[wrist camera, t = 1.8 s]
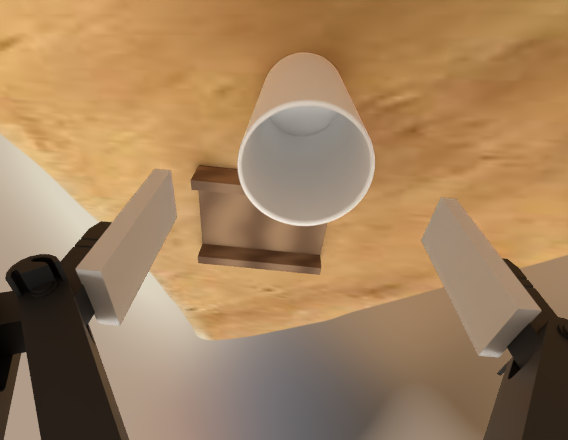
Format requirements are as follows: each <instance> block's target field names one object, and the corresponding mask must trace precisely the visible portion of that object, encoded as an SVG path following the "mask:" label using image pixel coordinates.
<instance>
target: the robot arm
mask: <svg viewBox="0 0 568 440" xmlns="http://www.w3.org/2000/svg"><path fill="white" fill-rule="evenodd" d="M176 218H177V212H176V205H175V197H174V190H173V182H172V175H171V170H163V169H154V170H153V172H152V173H151V174H150V175H149V177H148V178H147V179H146V180H145V182H144V183H143V184H142V185H141V187H140V188H139V189H138V190H137V192H136V193H135V194H134V196H133V197H132V198H131V199H130V201H129V202H128V203H127V204H126V206H125V207H124V208H123V209H122V211H121V212H120V213H119V214H118V216H117V217H116V218H115V219H114V221H113V222H102V221H101V222H99V223H98V224H96V225H94V226H93V227H91V228H90V229H89V230H88V231H87V232H86V233H85V234H84V235H83V237H82V238H81V240H79V241H78V242H77V243H76V244H75V247H73V248H72V249H71V250H70V251H69V253H68V254H67V255H66V256H65V257H64V258H63V260H62V261H61V262H60V261H59V260H58V259H57V257H55V256H52V255H49V254H48V255H47V254H40V255H36V256H30V257H28V258H25V259H23V260H21V261H19V262H17V263H16V264H14V265H13V266H12V267H11V268H10V269H9V270H8V272H7V273H6V281H7V282H8V284H9V285H10V287H11V288H12V290H13V291H10V292H3V293H0V440H4V435H5V430H6V425H7V420H8V415H9V410H10V405H11V400H12V395H13V390H14V386H15V381H16V376H17V371H18V366H19V361H20V356H21V353H23V352H26V353H27V358H28V364H29V370H30V376H31V382H32V388H33V394H34V400H35V405H36V411H37V418H38V423H39V429H40V435H41V440H129V438H128V435H127V433H126V430H125V427H124V424H123V421H122V418H121V415H120V412H119V409H118V407H117V404H116V401H115V398H114V395H113V392H112V389H111V386H110V384H109V381H108V378H107V375H106V372H105V369H104V367H103V364H102V361H101V358H100V355H99V352H98V349H97V346H96V343H95V341H94V338H93V335H92V332H91V329H90V327H89V325H88V323H89V321H90V320H91V318H92V316H93V315H94V314H95V317H96V319H97V321H98V323H99V324H110V325H121V323H122V321H123V319H124V317H125V315H126V313H127V312H128V309H129V308H130V306H131V304H132V302H133V300H134V298H135V296H136V294H137V292H138V291H139V289H140V287H141V285H142V283H143V281H144V279H145V277H146V275H147V273H148V272H149V270H150V268H151V266H152V264H153V262H154V260H155V258H156V256H157V254H158V252H159V251H160V249H161V247H162V245H163V243H164V241H165V239H166V237H167V235H168V233H169V232H170V230H171V228H172V226H173V224H174V222H175V220H176ZM421 241H422V243H423V245H424V247H425V249H426V251H427V253H428V255H429V257H430V259H431V261H432V263H433V265H434V267H435V269H436V271H437V273H438V275H439V277H440V279H441V281H442V284H443V286H444V288H445V290H446V292H447V294H448V296H449V297H450V300H451V301H452V303H453V306H454V308H455V310H456V312H457V314H458V316H459V318H460V320H461V322H462V324H463V326H464V328H465V330H466V332H467V334H468V336H469V338H470V340H471V342H472V344H473V346H474V348H475V350H476V352H477V354H478V356H490V357H499V356H500V355H501V354H502V353H503V352H504V351H505V350H506V349H507V348H508V350H509V351H510V353H511V355H512V356H513V357H512V358H511V359H510V361H508V362H507V363H506V364H505V365H504V366H503V367H502V369H501V370H500V371H499V372H498V373H497V374H498V375H502V374H503V373H504V372H505V373H504V376H503V379H502V383H501V386H500V389H499V392H498V395H497V398H496V402H495V405H494V408H493V411H492V414H491V417H490V421H489V424H488V427H487V430H486V433H485V436H484V439H483V440H568V320H567V319H565V318H560V317H558V316H557V315H556V314H555V313H554V312H553V310H552V309H551V308H550V307H549V305H548V304H547V303H546V302H545V300H544V299H543V298H542V297H541V295H540V294H539V293H538V291H537V290H536V289H535V288H533V285H532V284H531V283H530V282H529V280H527V278H526V276H525V275H524V274H523V273H522V272H521V270H520V269H519V268H518V267H517V266H515V265H514V264H513V263H512V262H510V261H509V260H508V259H503V258H501V257H500V255H499V254H498V253H497V251H496V250H495V249H494V247H493V246H492V245H491V244H490V242H489V241H488V240H487V238H486V237H485V236H484V234H483V233H482V232H481V230H480V229H479V228H478V227H477V225H476V224H475V223H474V221H473V220H472V219H471V217H470V216H469V215H468V214H467V212H466V211H465V210H464V208H463V207H462V206H461V204H460V203H459V202H458V200H457V199H453V198H443V197H441V198H440V200H439V202H438V205H437V207H436V209H435V211H434V213H433V215H432V218H431V220H430V222H429V224H428V226H427V228H426V230H425V233H424V235H423V237H422V239H421Z"/></svg>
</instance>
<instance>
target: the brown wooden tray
mask: <svg viewBox="0 0 568 440" xmlns="http://www.w3.org/2000/svg"><path fill="white" fill-rule="evenodd" d="M191 188H192V190H199V203H200V215H201V228H202V241H203V244H202V247H201V249H200V252H199V255H198V263H203V264H213V265H224V266H234V267H245V268H255V269H266V270H276V271H287V272H297V273H307V274H318V275H320V271H321V260H320V253H321V249H322V244H323V240H324V235H325V231H326V227H327V223H324V224H320V225H313V226H296V225H290V224H286V223H282V222H279V221H277V220H274V219H272V218H270V217H269V216H267V215H265V214H264V213H262V212H261V211H260V210H259V209H257V208H256V207H255V206H254V205H253V204H252V202H251V201H250V200H249V199H248V197H247V196H246V194H245V192H244V190H243V188H242V186H241V183H240V180H239V175H238V169H228V168H219V167H209V166H199V167H198V168H197V170H196V172H195V174H194V175H193V177H192V179H191Z"/></svg>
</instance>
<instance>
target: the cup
mask: <svg viewBox="0 0 568 440" xmlns="http://www.w3.org/2000/svg"><path fill="white" fill-rule="evenodd" d="M374 169H375V156H374V150H373V145H372V142H371V139H370V137H369V135H368V133H367V130H366V128H365V126H364V124H363V122H362V120H361V118H360V116H359V114H358V112H357V110H356V107H355V105H354V103H353V101H352V99H351V97H350V95H349V93H348V91H347V89H346V87H345V85H344V83H343V80H342V78H341V76H340V74H339V72H338V71H337V69H336V68H335V67H334V65H333V64H332V63H331V62H329V61H328V60H327V59H325V58H324V57H322V56H320V55H317V54H314V53H309V52H299V53H294V54H291V55H288V56H286V57H284V58H283V59H281V60H280V61H278V62H277V63H276V64H275V65H274V66H273V67H272V69H271V70H270V71H269V73H268V75H267V77H266V79H265V81H264V84H263V87H262V89H261V92H260V95H259V97H258V100H257V103H256V105H255V108H254V110H253V113H252V116H251V118H250V121H249V124H248V126H247V129H246V132H245V134H244V137H243V140H242V142H241V145H240V149H239V154H238V175H239V180H240V183H241V186H242V188H243V190H244V192H245V194H246V196H247V197H248V199H249V200H250V201H251V202H252V204H253V205H254V206H255V207H256V208H257V209H259V210H260V211H261V212H262V213H264V214H265V215H267V216H269V217H270V218H272V219H274V220H277V221H279V222H282V223H286V224H290V225H296V226H313V225H320V224H324V223H328V222H330V221H333V220H335V219H338V218H340V217H341V216H343V215H345V214H346V213H348V212H349V211H350V210H352V209H353V208H354V207H355V206H356V205H357V204H358V203H359V202H360V201H361V200H362V198H363V197H364V196H365V194H366V193H367V191H368V189H369V187H370V185H371V182H372V179H373V175H374Z"/></svg>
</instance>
